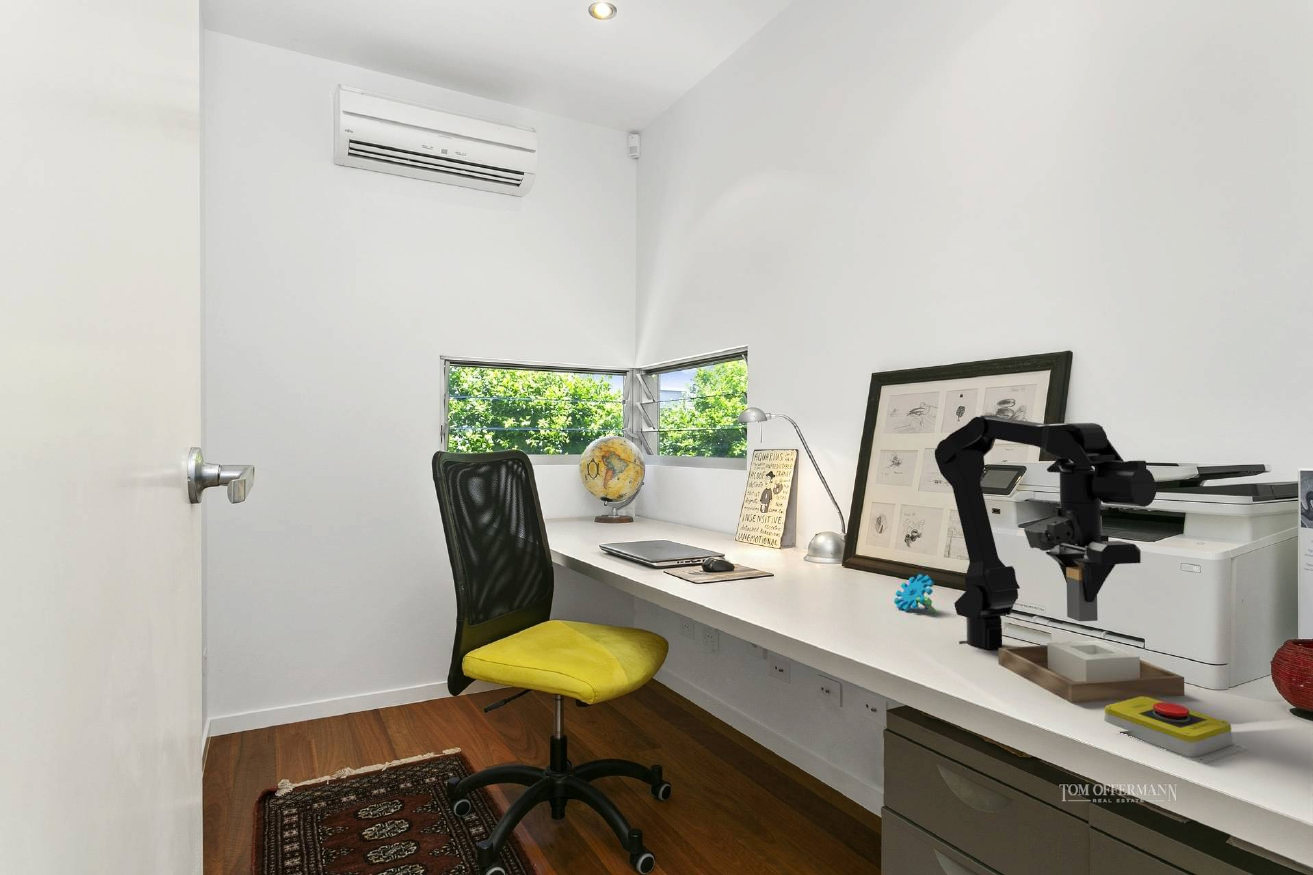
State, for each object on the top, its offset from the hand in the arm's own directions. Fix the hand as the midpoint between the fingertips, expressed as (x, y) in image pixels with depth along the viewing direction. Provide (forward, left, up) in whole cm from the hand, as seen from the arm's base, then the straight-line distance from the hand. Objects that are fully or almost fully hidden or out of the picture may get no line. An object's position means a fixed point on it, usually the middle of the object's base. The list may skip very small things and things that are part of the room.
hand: (1082, 599), depth 116 cm
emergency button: (+20, -4, -14) cm, 24 cm away
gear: (-49, -4, -13) cm, 51 cm away
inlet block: (0, +2, -12) cm, 12 cm away
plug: (0, 0, -3) cm, 3 cm away
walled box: (+1, 0, -13) cm, 13 cm away
